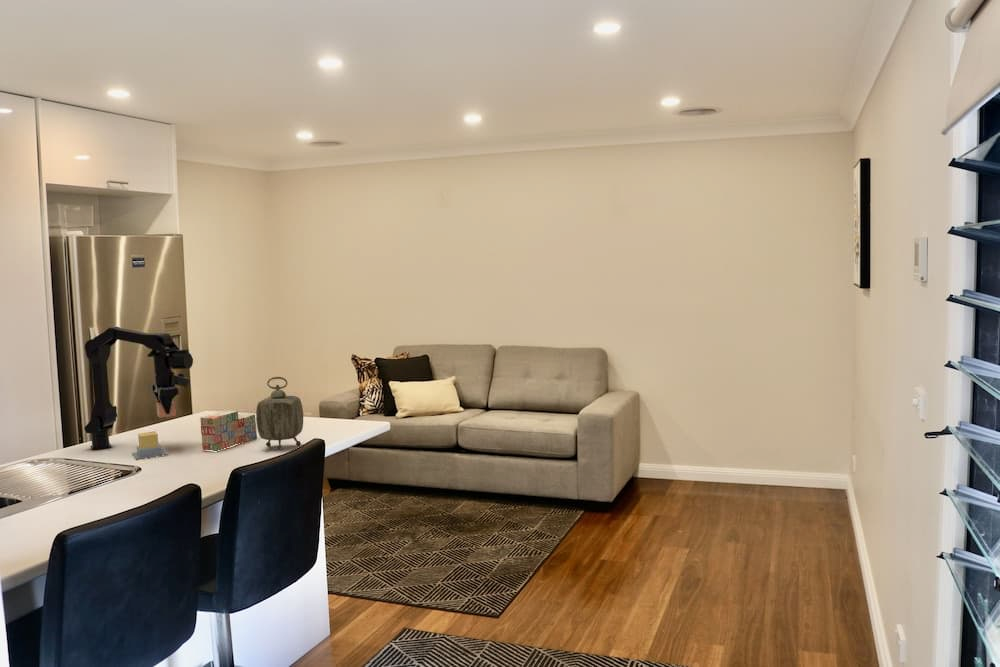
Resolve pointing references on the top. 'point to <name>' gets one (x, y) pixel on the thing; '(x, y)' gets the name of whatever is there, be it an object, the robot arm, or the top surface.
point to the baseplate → (148, 452)
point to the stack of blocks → (227, 429)
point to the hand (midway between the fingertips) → (166, 412)
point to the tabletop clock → (279, 416)
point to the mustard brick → (148, 440)
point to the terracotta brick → (162, 412)
